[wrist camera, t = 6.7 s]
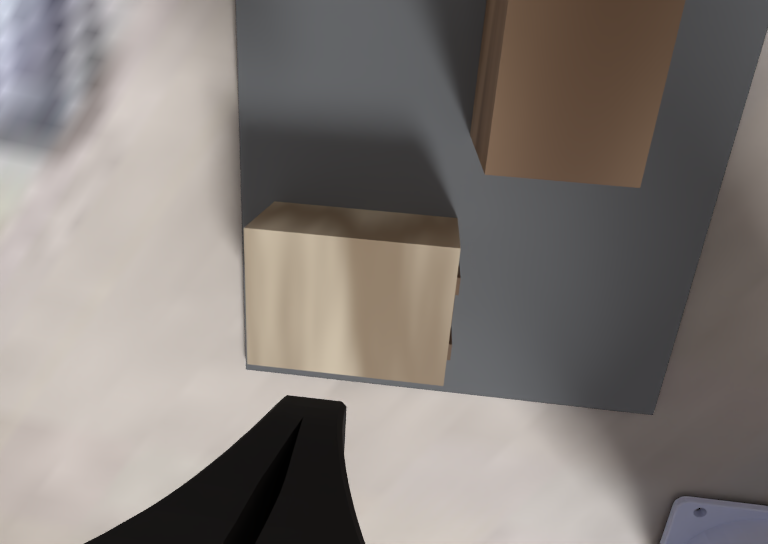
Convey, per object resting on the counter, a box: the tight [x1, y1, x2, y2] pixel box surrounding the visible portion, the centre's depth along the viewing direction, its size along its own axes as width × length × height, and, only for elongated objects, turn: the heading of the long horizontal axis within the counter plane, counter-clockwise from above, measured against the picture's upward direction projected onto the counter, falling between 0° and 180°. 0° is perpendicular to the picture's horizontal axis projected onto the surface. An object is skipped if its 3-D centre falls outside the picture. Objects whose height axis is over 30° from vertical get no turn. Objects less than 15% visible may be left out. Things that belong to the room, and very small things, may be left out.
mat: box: [236, 0, 768, 415], centre depth 20 cm, size 17×16×1 cm
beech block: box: [244, 201, 461, 386], centre depth 20 cm, size 4×5×7 cm
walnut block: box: [470, 0, 686, 188], centre depth 15 cm, size 4×5×7 cm
